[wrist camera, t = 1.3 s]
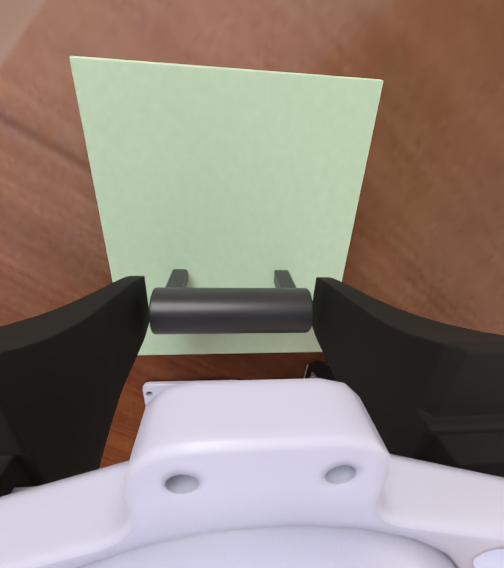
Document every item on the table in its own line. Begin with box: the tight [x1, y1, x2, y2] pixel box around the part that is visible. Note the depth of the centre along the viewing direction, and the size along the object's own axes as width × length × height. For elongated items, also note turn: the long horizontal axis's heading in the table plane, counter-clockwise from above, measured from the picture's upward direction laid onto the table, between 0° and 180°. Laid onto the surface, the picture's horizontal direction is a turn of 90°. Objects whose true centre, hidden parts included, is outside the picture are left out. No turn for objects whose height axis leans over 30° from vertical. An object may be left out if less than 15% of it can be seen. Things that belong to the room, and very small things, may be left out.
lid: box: [70, 56, 383, 355], centre depth 12 cm, size 13×12×5 cm
